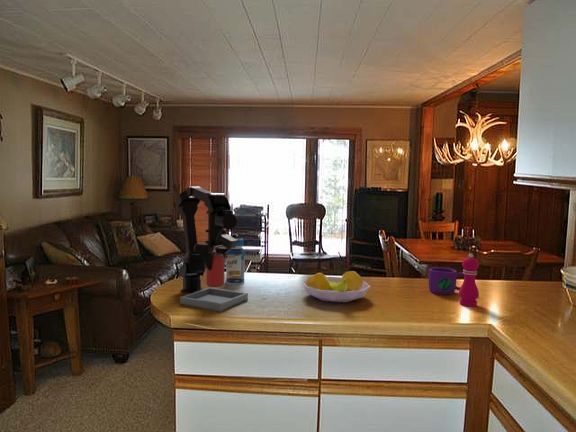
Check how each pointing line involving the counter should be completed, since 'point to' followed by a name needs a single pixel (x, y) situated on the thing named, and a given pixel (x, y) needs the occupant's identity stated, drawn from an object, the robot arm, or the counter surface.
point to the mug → (443, 280)
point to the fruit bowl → (336, 287)
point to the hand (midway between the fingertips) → (215, 268)
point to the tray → (214, 299)
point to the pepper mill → (469, 282)
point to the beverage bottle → (235, 264)
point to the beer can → (216, 271)
